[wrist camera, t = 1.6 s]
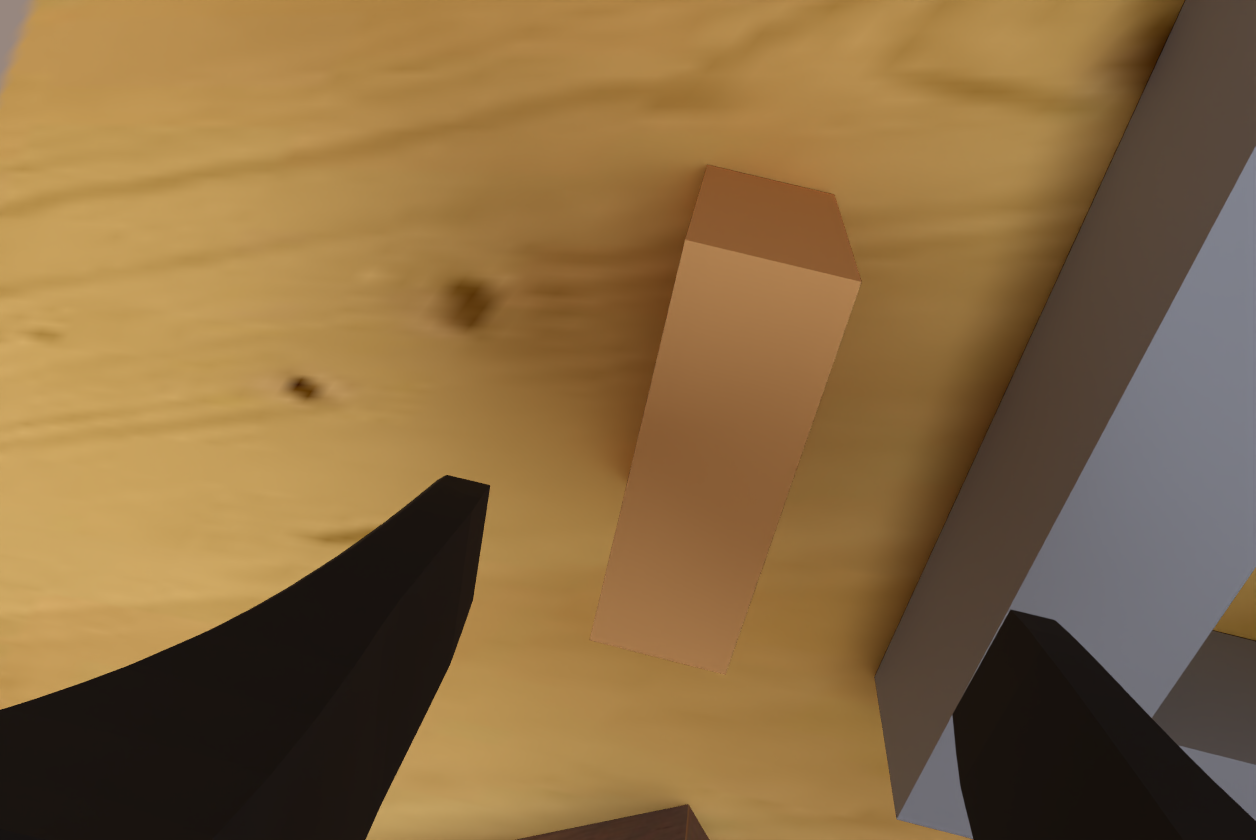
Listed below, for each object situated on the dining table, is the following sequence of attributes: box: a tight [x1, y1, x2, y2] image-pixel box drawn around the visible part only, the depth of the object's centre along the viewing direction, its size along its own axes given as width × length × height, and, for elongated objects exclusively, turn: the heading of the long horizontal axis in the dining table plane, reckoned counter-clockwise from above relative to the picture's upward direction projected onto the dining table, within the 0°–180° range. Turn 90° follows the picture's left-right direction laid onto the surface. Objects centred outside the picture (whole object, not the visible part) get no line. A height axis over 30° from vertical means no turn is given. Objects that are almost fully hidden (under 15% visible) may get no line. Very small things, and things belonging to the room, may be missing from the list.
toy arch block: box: [590, 165, 862, 675], centre depth 19 cm, size 9×3×6 cm, turn 169°
